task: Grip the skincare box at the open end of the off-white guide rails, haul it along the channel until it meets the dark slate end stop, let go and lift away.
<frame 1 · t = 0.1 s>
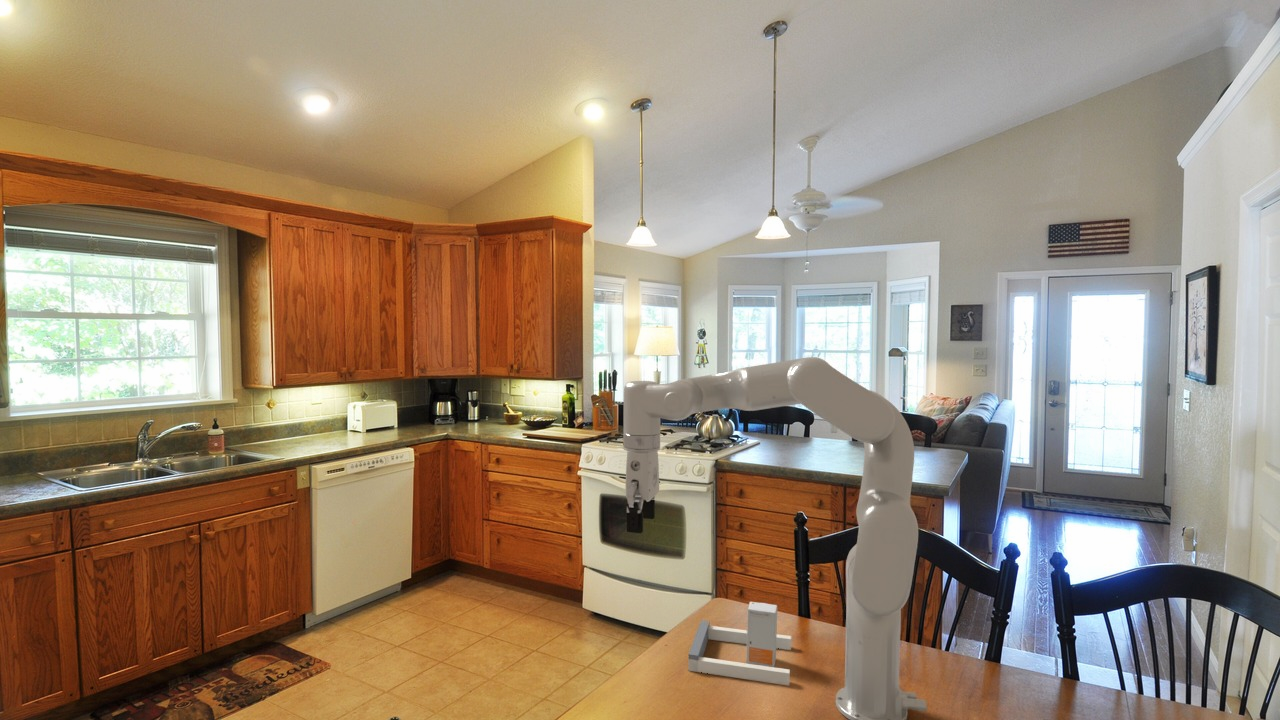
hand: (641, 524, 127), 31 cm above the table, tool pointing down, fingers open, 9 cm apart
guide channel: (742, 658, 135), on the table
skincare box: (761, 662, 134), on the table
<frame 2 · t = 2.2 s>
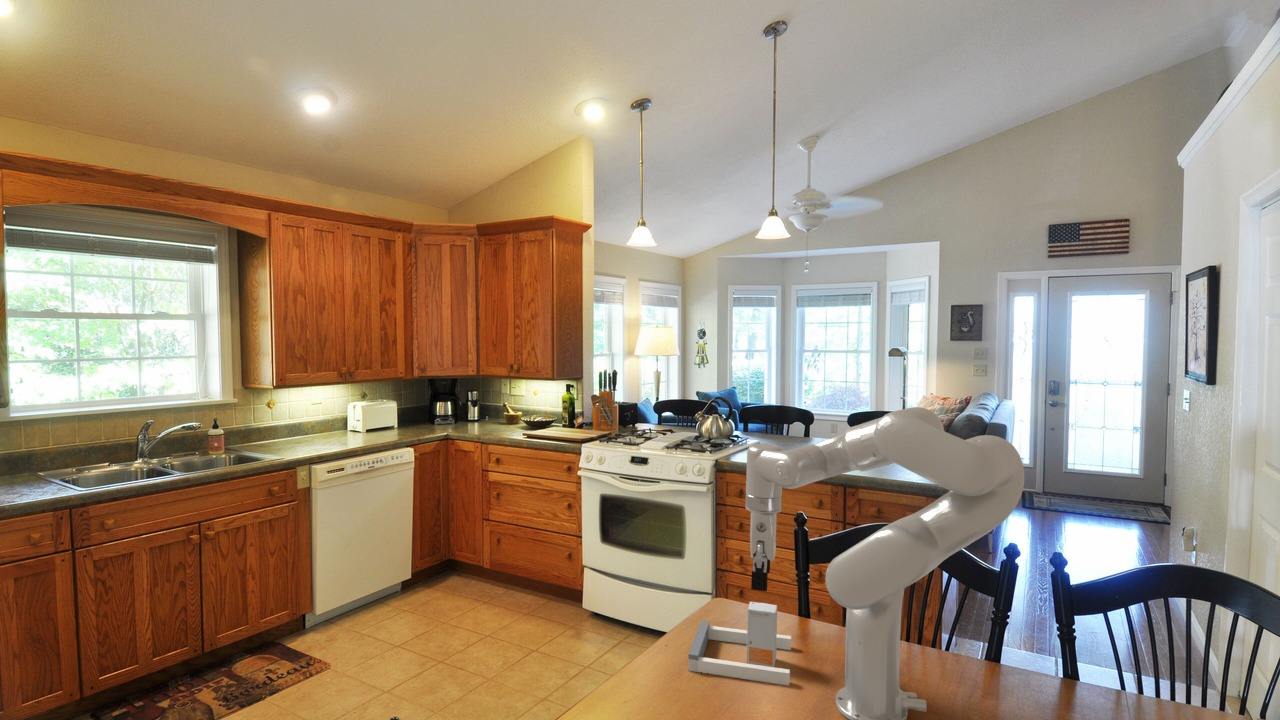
hand: (760, 580, 133), 17 cm above the table, tool pointing down, fingers open, 9 cm apart
nothing on the table moved.
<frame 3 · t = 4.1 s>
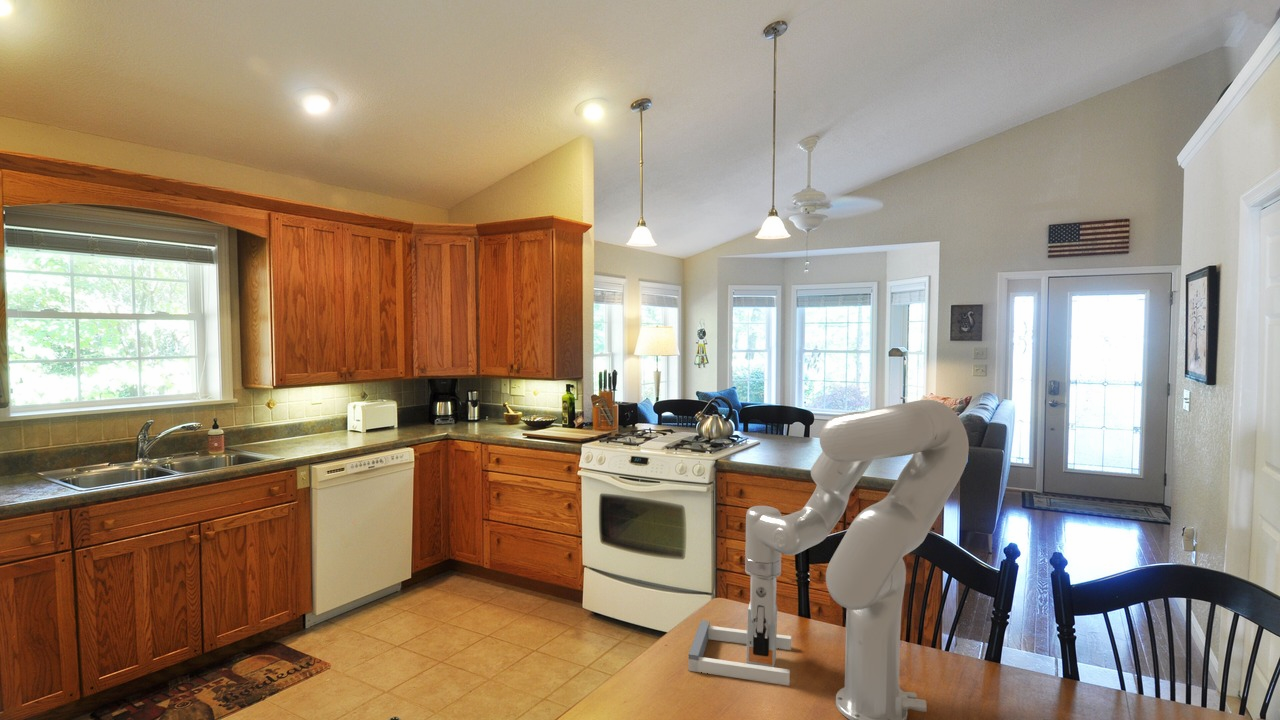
hand: (761, 648, 133), 3 cm above the table, tool pointing down, fingers closed on skincare box, 4 cm apart
skincare box: (761, 662, 134), on the table, touching gripper
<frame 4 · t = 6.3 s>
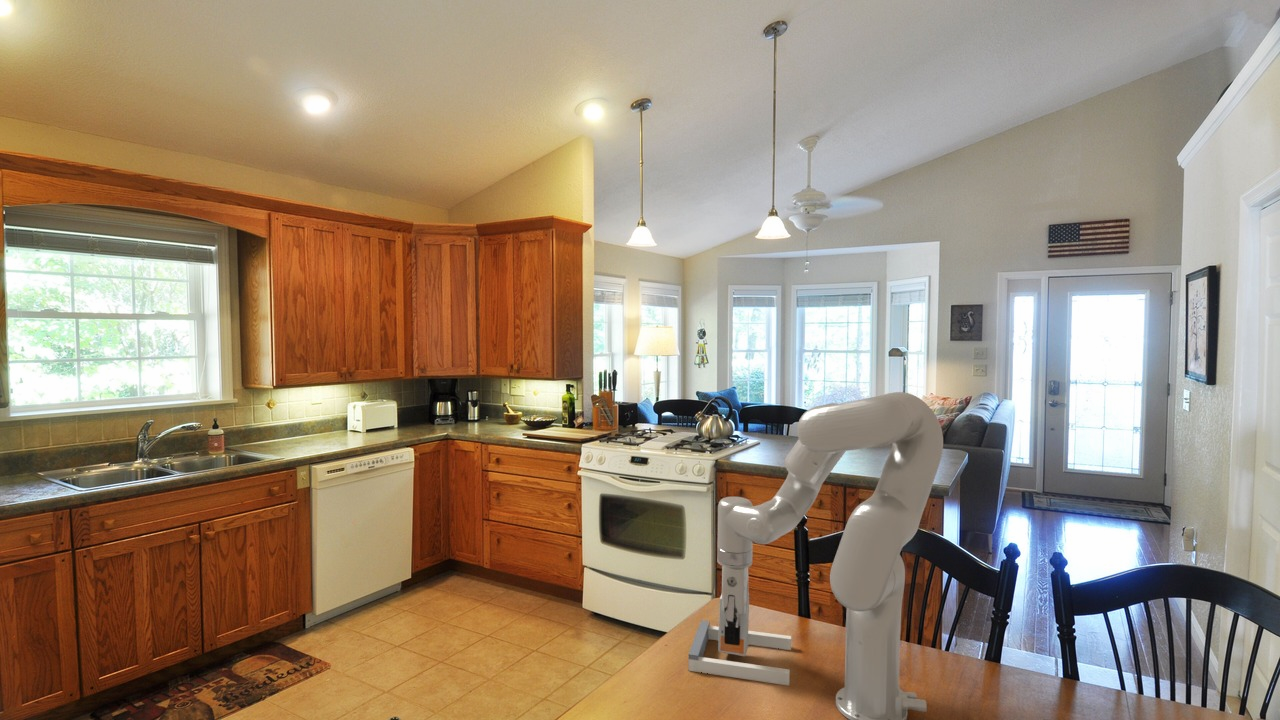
hand: (733, 637, 135), 4 cm above the table, tool pointing down, fingers closed on skincare box, 4 cm apart
skincare box: (733, 651, 135), point 1 cm above the table, touching gripper
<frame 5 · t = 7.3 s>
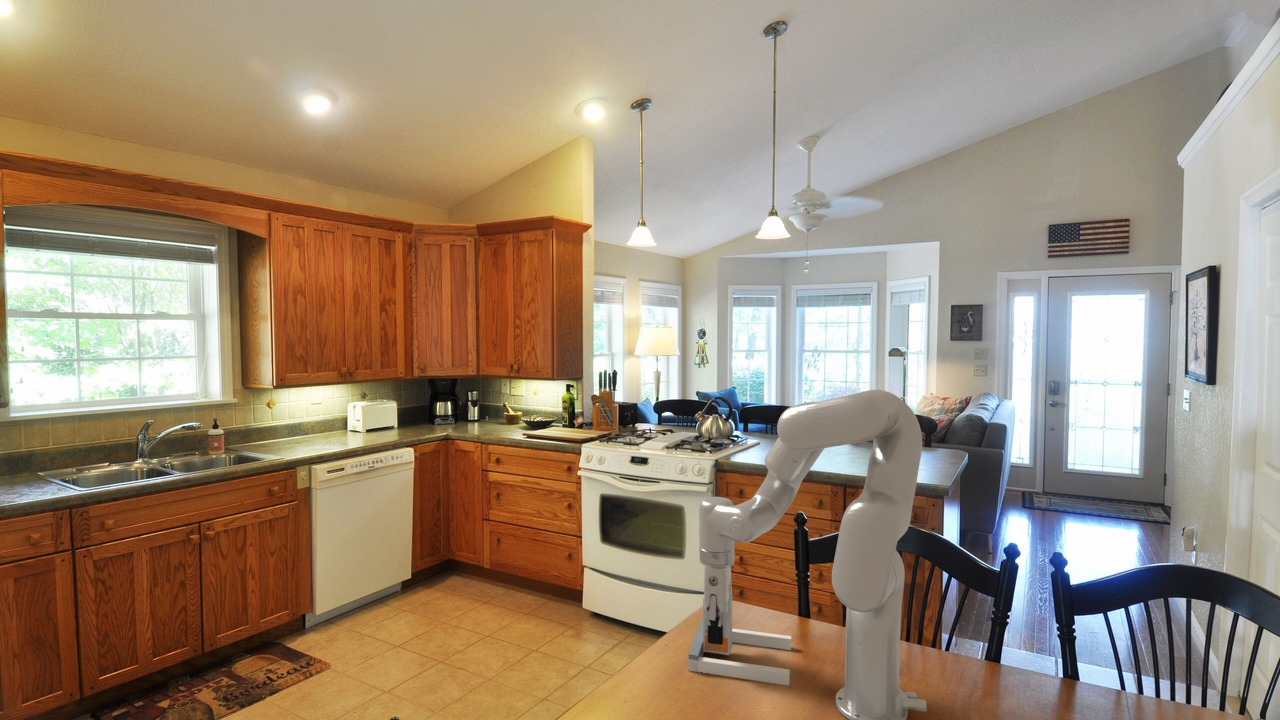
hand: (717, 636, 136), 4 cm above the table, tool pointing down, fingers closed on skincare box, 4 cm apart
skincare box: (717, 650, 136), point 1 cm above the table, touching gripper, guide channel
when the fingers open (3 cm above the table, at t = 8.4 s): skincare box stays where it is, on the table.
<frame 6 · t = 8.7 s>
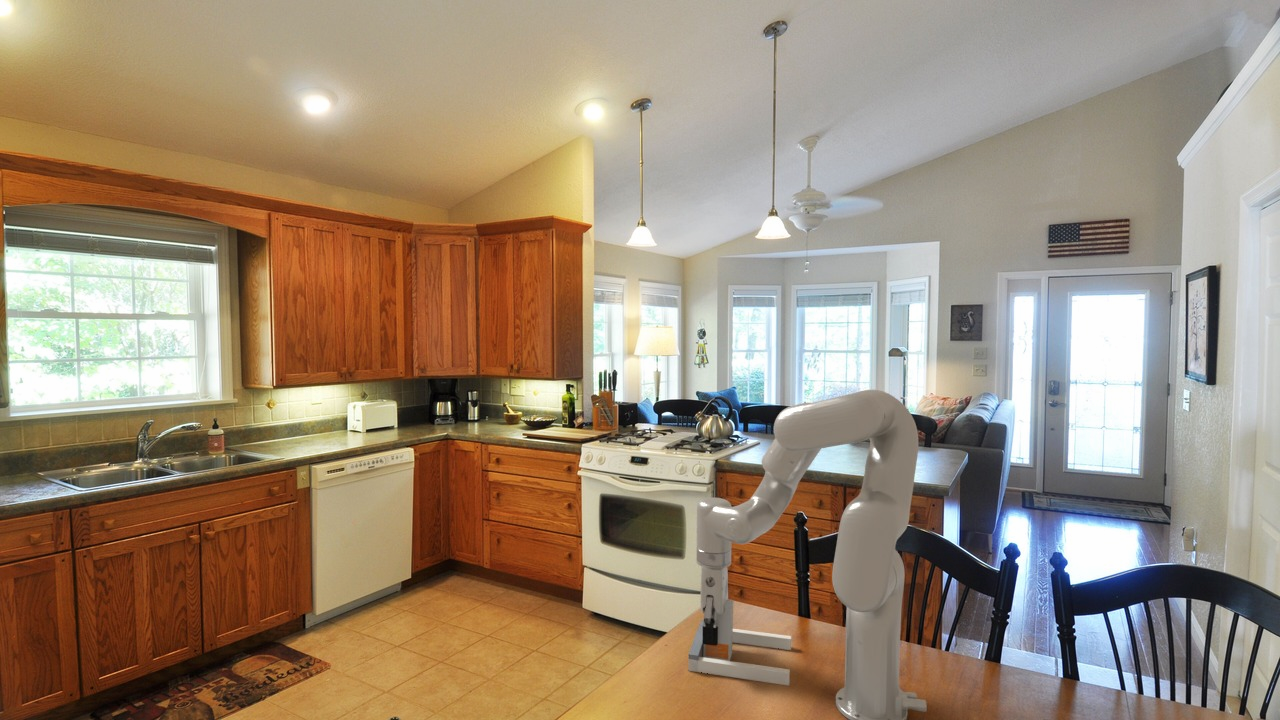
hand: (712, 635, 136), 4 cm above the table, tool pointing down, fingers open, 7 cm apart
skincare box: (717, 656, 136), on the table
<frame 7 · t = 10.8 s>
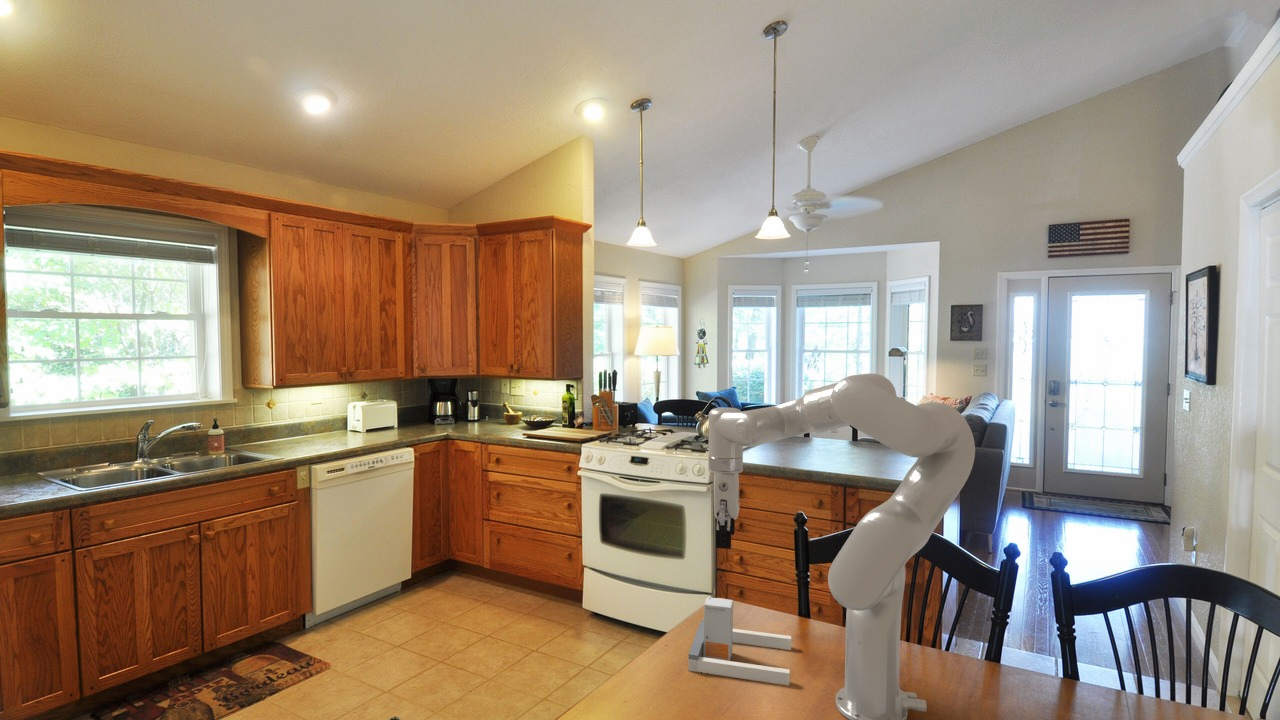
hand: (725, 540, 137), 25 cm above the table, tool pointing down, fingers open, 9 cm apart
nothing on the table moved.
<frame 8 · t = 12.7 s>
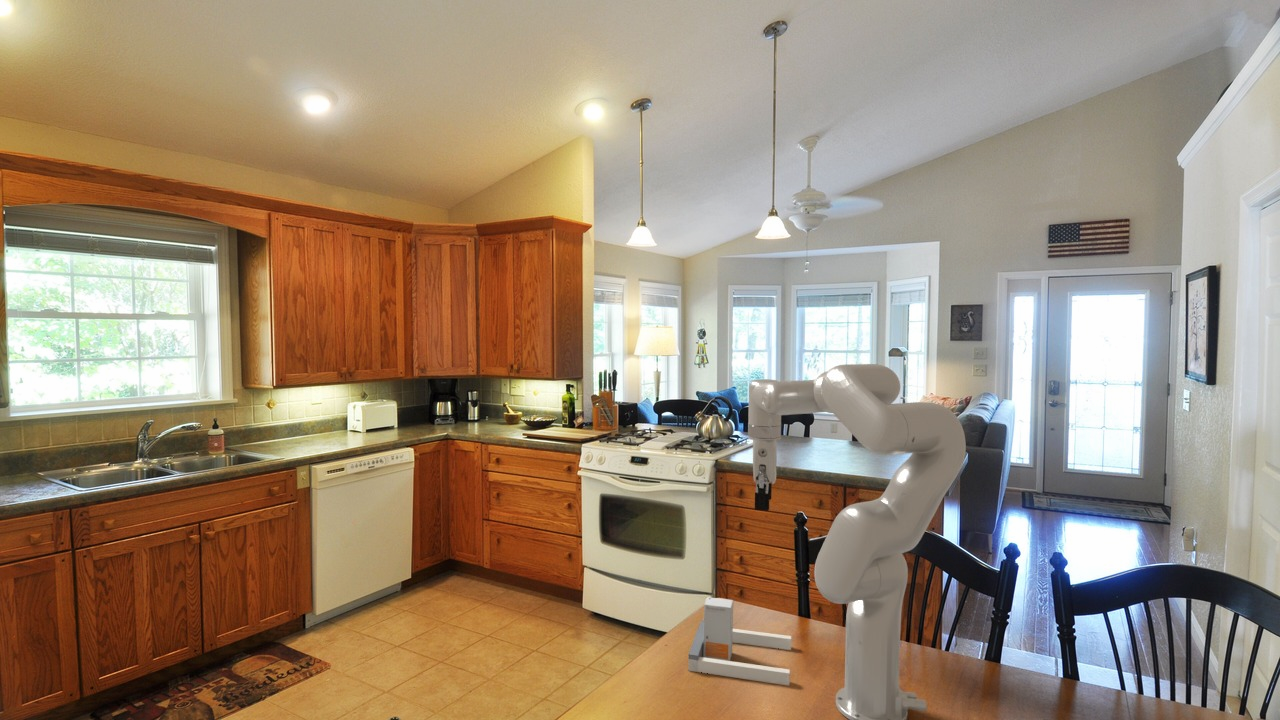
hand: (763, 504, 146), 30 cm above the table, tool pointing down, fingers open, 9 cm apart
nothing on the table moved.
at the end: skincare box 0.6 cm from the target spot, on the table; skincare box tilted 0°; the gripper is holding nothing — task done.
